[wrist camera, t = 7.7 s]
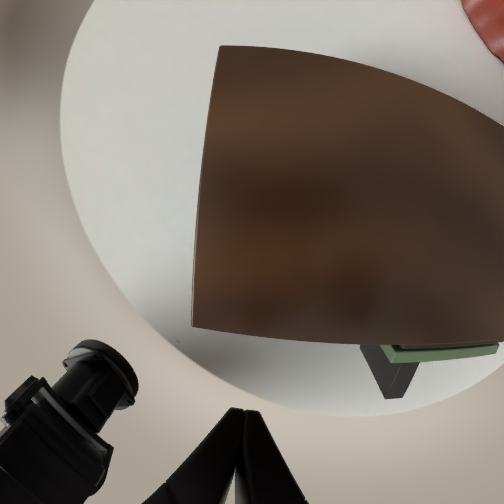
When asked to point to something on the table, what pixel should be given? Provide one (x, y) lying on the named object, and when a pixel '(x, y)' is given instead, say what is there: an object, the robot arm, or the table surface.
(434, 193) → the cupboard
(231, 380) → the table surface
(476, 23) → the flower pot
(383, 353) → the sliding door
